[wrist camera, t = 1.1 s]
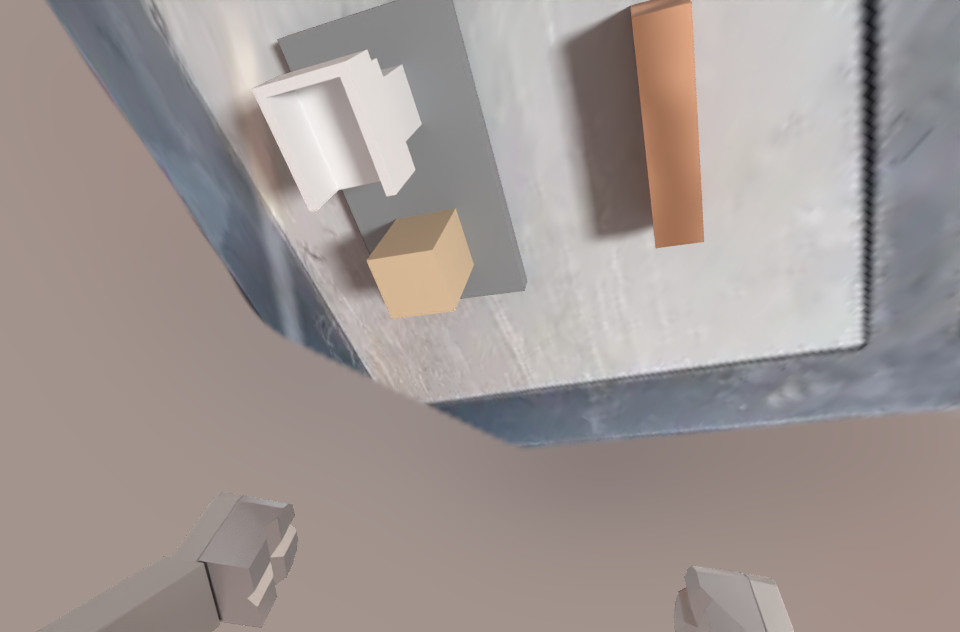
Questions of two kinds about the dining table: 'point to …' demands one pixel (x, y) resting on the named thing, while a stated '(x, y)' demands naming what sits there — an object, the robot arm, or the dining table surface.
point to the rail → (669, 118)
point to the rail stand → (399, 151)
